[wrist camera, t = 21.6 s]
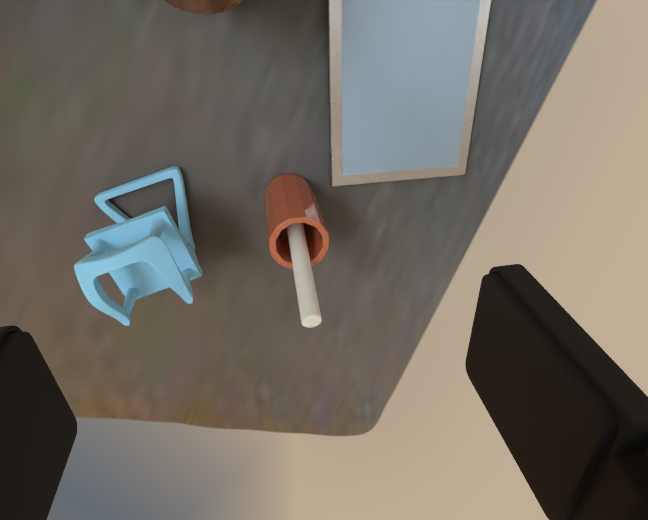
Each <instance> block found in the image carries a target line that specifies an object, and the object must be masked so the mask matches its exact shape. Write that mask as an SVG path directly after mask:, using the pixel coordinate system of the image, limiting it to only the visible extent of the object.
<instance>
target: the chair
mask: <svg viewBox="0 0 648 520" xmlns="http://www.w3.org/2000/svg"><path fill="white" fill-rule="evenodd" d="M169 178H172V179H173V180H174V187H175V197H176V207H177V217H178V226H179V229H178V228H177V226H176V224H175V222H174V220H173V218H172V216H171V215H170V213H169V211H168V209H167V208H166V206H163V207H161V208H158V209H155V210H152V211H149V212H147V213H144V214H142V215H139V216H137V217H135V218H132V219H131V218H129V217H128V216H127V215H126V214H124V213H123V212H122V211H121V210H119V209H118V208H117V207H116V206H114V205H113V204H112V203H111V202H110V201H109V200H108V199H110V198H113V197H116V196H119V195H122V194H125V193H128V192H131V191H134V190H137V189H139V188H142V187H145V186H148V185H151V184H154V183H157V182H160V181H163V180H166V179H169ZM94 201H95V203H96V204H97V206H98V207H99V208H100V209H101V210H102V211H103V212H105V213H106V214H107V215H108V216H109V217H110V218H111V219H113V220H114V221H115V222H116V223H117V224H114V225H111V226H108V227H105V228H102V229H99V230H96V231H93V232H90V233H88V234H87V235H86V236H85V238H84V240H85V241H86V243H87V244H88V246H89V247H90V248H91V250H92V252H91V253H90V254H88V255H87V256H85V257H84V258H82V259H81V260H80V261H79V262H77V263H76V264H75V266H74V269H75V273H76V276H77V279H78V281H79V284H80V286H81V289H82V291H83V293H84V294H85V296H86V298H87V299H88V301H89V302H90V303H91V304H92V305H93V306H94V307H95V308H97V309H98V310H100V311H102V312H103V313H105V314H107V315H110V316H112V317H114V318H115V319H117V320H118V321H120V322H121V323H122V324H123V325H126V326H128V325H129V324H130V313H131V311H132V308H133V306H134V304H135V301H136V299H139V298H142V297H144V296H147V295H150V294H152V293H155V292H157V291H160V290H163V289H166V288H168V287H170V288H171V289H172V290H173V291H175V292H176V293H177V294H178V295H180V296H181V298H182V299H183V300H184V301H185V302H186V303H188V304H191V303H192V302H193V294H192V288H191V285H190V280H193V279H196V278H199V277H202V269H201V267H200V266H199V263H198V260H197V257H196V254H195V252H194V250H195V244H194V241H193V237H192V232H191V227H190V221H189V214H188V207H187V200H186V193H185V187H184V181H183V177H182V173H181V170H180V168H179V167H178V166H172V167H169V168H166V169H164V170H161V171H158V172H155V173H153V174H150V175H147V176H144V177H142V178H139V179H136V180H133V181H131V182H128V183H125V184H122V185H119V186H117V187H114V188H111V189H108V190H106V191H103V192H100V193H98V194H97V196H96V197H95V198H94ZM108 272H109V273H110V275H111V276H112V278H113V279H114V281H115V282H116V284H117V285H118V287H119V288H120V290H121V291H122V293H123V294H124V295H125V301H124V305H123V307H121V306H119V305H118V304H116V303H115V302H114V301H112V300H111V299H110V298H109V297H108V296H107V295H106V293H105V292H104V290H103V289H102V287H101V284H100V282H99V280H98V276H99V275H102V274H105V273H108Z"/></svg>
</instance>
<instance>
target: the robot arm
mask: <svg viewBox="0 0 648 520" xmlns="http://www.w3.org/2000/svg"><path fill="white" fill-rule="evenodd" d="M466 371H467V373H468V376H469V379H470V380H471V382H472V384H473V386H474V387H475V389H476V391H477V393H478V395H479V397H480V398H481V400H482V402H483V404H484V405H485V407H486V409H487V411H488V413H489V414H490V416H491V418H492V420H493V422H494V423H495V425H496V427H497V429H498V430H499V432H500V434H501V436H502V438H503V439H504V441H505V443H506V445H507V447H508V448H509V450H510V452H511V454H512V455H513V457H514V459H515V461H516V463H517V464H518V466H519V468H520V470H521V472H522V473H523V475H524V477H525V479H526V481H527V482H528V484H529V486H530V488H531V490H532V491H533V493H534V495H535V497H536V499H537V500H538V502H539V504H540V506H541V507H542V509H543V511H544V513H545V514H546V516H547V517H548V519H549V520H648V397H647V396H646V395H645V394H644V393H643V391H642V390H640V388H639V387H638V386H637V385H636V384H635V383H634V382H633V381H632V380H631V379H630V378H629V377H628V376H627V375H626V374H625V373H624V371H623V370H622V369H621V368H619V366H618V365H617V364H616V363H615V362H614V361H613V360H612V359H611V358H610V357H609V356H608V355H607V354H606V353H605V352H604V350H602V348H601V347H600V346H599V345H598V344H597V343H596V342H595V341H594V340H593V339H592V338H591V337H590V336H589V335H588V334H587V333H586V332H585V331H584V330H583V328H582V327H581V326H580V325H579V324H578V323H577V322H576V321H575V320H574V319H573V318H572V317H571V316H570V315H569V314H568V313H567V312H566V311H565V310H564V308H562V307H561V305H560V304H559V303H558V302H557V301H556V300H555V299H554V298H553V297H552V296H551V295H550V294H549V293H548V292H547V291H546V290H545V289H544V287H542V285H541V284H539V282H538V281H537V280H536V279H535V278H534V277H533V276H532V275H531V274H530V273H529V272H528V271H527V270H526V269H525V268H524V267H523V266H522V265H519V264H515V265H506V266H498V267H493V268H492V269H491V270H490V272H489V274H487V275H485V276H484V277H483V279H482V283H481V287H480V292H479V297H478V302H477V307H476V312H475V317H474V322H473V327H472V332H471V337H470V342H469V347H468V352H467V357H466ZM76 434H77V421H76V418H75V416H74V414H73V412H72V410H71V408H70V407H69V405H68V403H67V401H66V399H65V397H64V395H63V393H62V392H61V390H60V388H59V386H58V384H57V382H56V380H55V379H54V377H53V375H52V373H51V371H50V369H49V367H48V365H47V364H46V362H45V360H44V358H43V356H42V354H41V352H40V351H39V349H38V347H37V345H36V343H35V341H34V339H33V338H32V336H31V335H30V333H28V332H22V331H21V329H20V328H18V327H17V326H5V327H0V520H47V517H48V514H49V511H50V508H51V505H52V502H53V500H54V497H55V494H56V491H57V488H58V485H59V482H60V480H61V477H62V474H63V471H64V469H65V466H66V463H67V460H68V457H69V454H70V452H71V449H72V446H73V443H74V440H75V437H76Z"/></svg>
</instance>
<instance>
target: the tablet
mask: <svg viewBox="0 0 648 520" xmlns="http://www.w3.org/2000/svg"><path fill="white" fill-rule="evenodd" d="M490 6H491V0H327V24H328V77H329V130H330V183H331V185H332V186H342V185H354V184H365V183H376V182H388V181H399V180H411V179H422V178H433V177H445V176H456V175H465V171H466V164H467V158H468V151H469V144H470V138H471V131H472V125H473V118H474V112H475V105H476V98H477V92H478V85H479V79H480V72H481V66H482V59H483V52H484V46H485V39H486V33H487V26H488V20H489V13H490Z"/></svg>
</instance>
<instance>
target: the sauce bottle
mask: <svg viewBox="0 0 648 520" xmlns="http://www.w3.org/2000/svg"><path fill="white" fill-rule="evenodd" d="M165 1H166V2H168V3H169V4H171V5H172V6H173V7H175V8H179V9H181V10H183V11H186V12H191V13H197V14H215V13H217V12H223V11H224V10H227V9H230V8H232V7H234V6H235V5H237V4H238V3H240V2H241V1H242V0H165Z"/></svg>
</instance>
